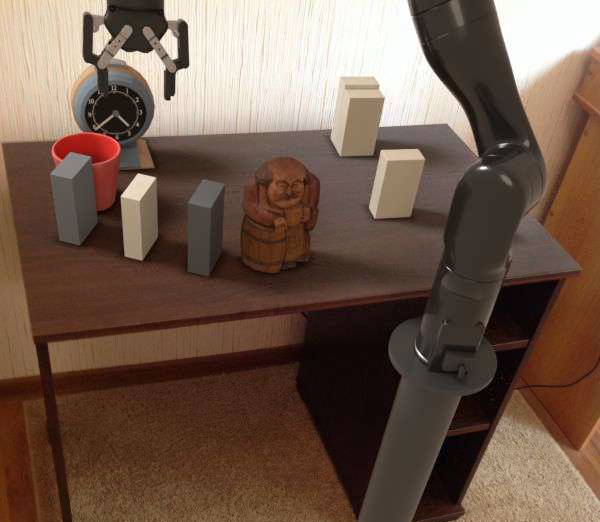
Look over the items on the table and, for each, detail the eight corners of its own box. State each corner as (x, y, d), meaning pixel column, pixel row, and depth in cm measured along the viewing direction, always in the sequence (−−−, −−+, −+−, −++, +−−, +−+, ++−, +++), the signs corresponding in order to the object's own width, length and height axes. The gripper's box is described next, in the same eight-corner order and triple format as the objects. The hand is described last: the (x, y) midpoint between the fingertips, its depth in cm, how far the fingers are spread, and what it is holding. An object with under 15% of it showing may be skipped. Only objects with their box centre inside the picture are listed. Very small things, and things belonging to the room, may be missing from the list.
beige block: (142, 260, 120) (139, 200, 111) (124, 256, 120) (120, 196, 112) (158, 236, 124) (156, 177, 116) (140, 232, 124) (138, 173, 116)
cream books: (410, 217, 137) (427, 152, 128) (374, 219, 135) (389, 154, 126) (362, 137, 155) (374, 76, 146) (330, 138, 153) (339, 76, 144)
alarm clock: (80, 172, 134) (69, 74, 122) (73, 144, 141) (62, 48, 128) (160, 167, 139) (157, 72, 126) (150, 140, 145) (147, 47, 132)
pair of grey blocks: (208, 276, 119) (211, 208, 110) (59, 240, 121) (49, 170, 111) (221, 251, 123) (225, 184, 114) (78, 217, 125) (69, 148, 116)
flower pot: (52, 187, 130) (45, 134, 123) (115, 179, 134) (112, 128, 127) (65, 221, 124) (58, 168, 117) (131, 212, 128) (128, 160, 121)
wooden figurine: (253, 279, 120) (261, 178, 106) (235, 256, 123) (242, 156, 110) (316, 263, 124) (332, 165, 111) (298, 242, 128) (311, 144, 115)
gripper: (79, -36, 92) (86, 102, 101) (194, -25, 97) (191, 106, 106) (76, -42, 98) (83, 89, 107) (185, -32, 102) (183, 94, 111)
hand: (137, 98), depth 106 cm, fingers open, 8 cm apart
